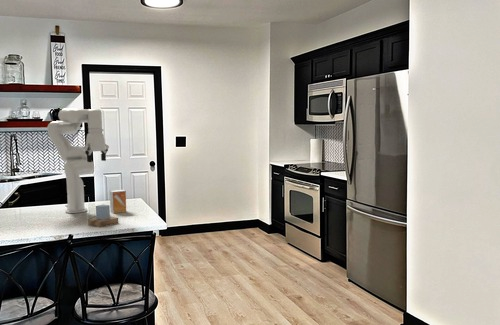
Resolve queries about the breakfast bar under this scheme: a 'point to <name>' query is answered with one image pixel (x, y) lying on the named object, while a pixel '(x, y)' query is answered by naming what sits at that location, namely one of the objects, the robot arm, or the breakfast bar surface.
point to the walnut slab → (103, 222)
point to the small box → (118, 201)
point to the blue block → (103, 212)
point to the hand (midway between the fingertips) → (96, 161)
